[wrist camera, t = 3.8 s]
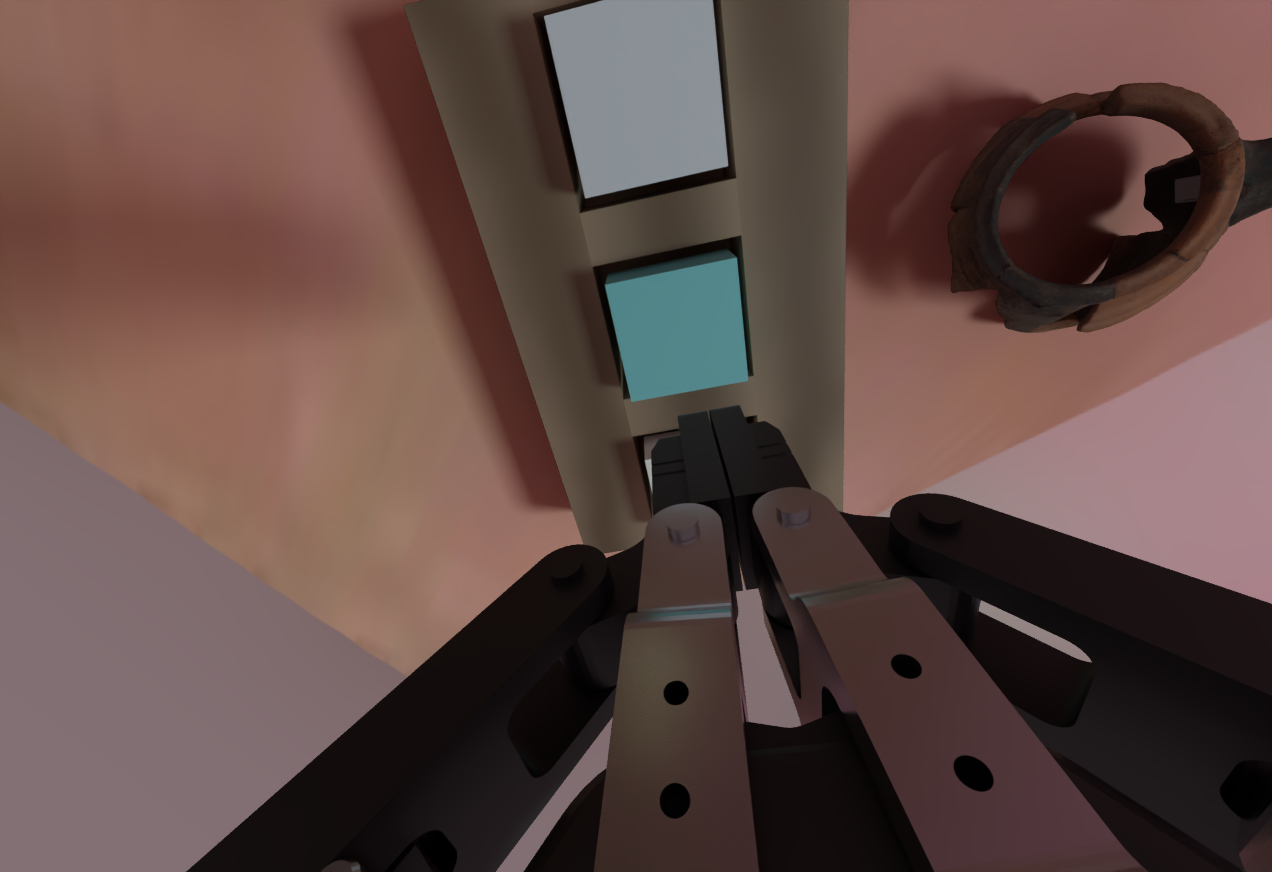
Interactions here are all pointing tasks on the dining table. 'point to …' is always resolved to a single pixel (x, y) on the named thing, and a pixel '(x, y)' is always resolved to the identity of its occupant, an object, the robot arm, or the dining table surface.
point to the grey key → (640, 90)
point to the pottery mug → (1138, 264)
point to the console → (658, 235)
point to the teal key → (679, 324)
